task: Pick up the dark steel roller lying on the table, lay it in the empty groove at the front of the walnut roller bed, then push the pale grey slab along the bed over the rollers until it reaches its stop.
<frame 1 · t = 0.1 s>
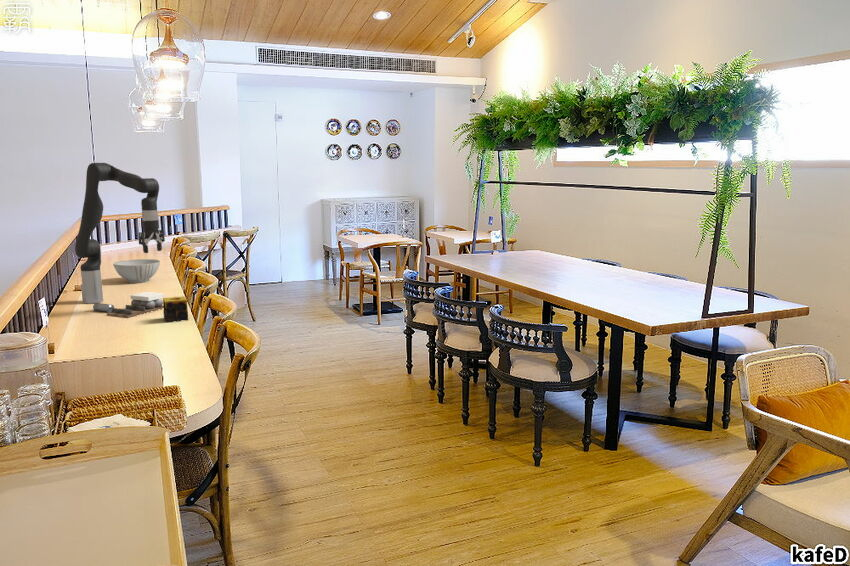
hand: (152, 251, 323), 29 cm above the table, fingers open, 8 cm apart
slab: (147, 296, 328), point 6 cm above the table, slide at 0.0 cm
roller bed: (137, 311, 323), on the table
black and yellow cube: (176, 319, 307), on the table
roller: (103, 311, 324), on the table
decorative bowl: (138, 281, 408), on the table
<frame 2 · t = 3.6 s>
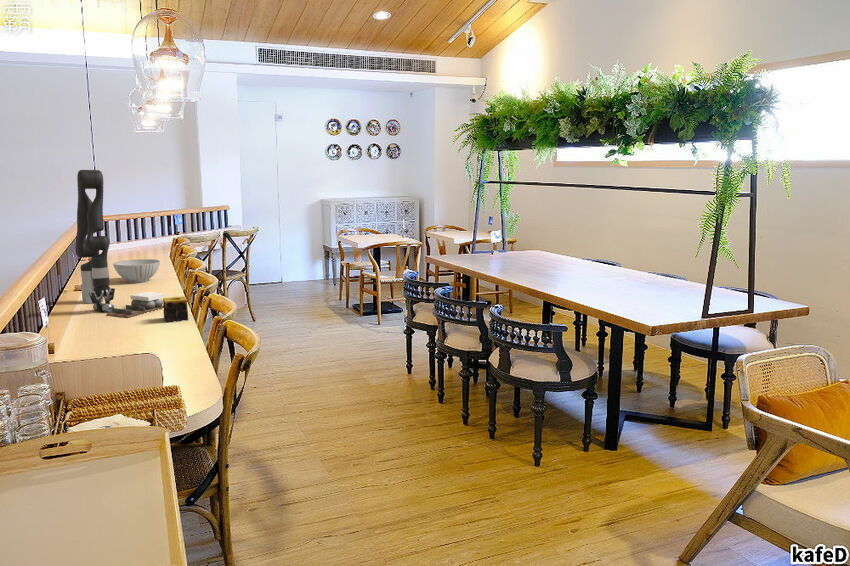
hand: (103, 310, 324), 1 cm above the table, fingers closed on roller, 4 cm apart
roller: (103, 311, 324), on the table, touching gripper
everything else where it was.
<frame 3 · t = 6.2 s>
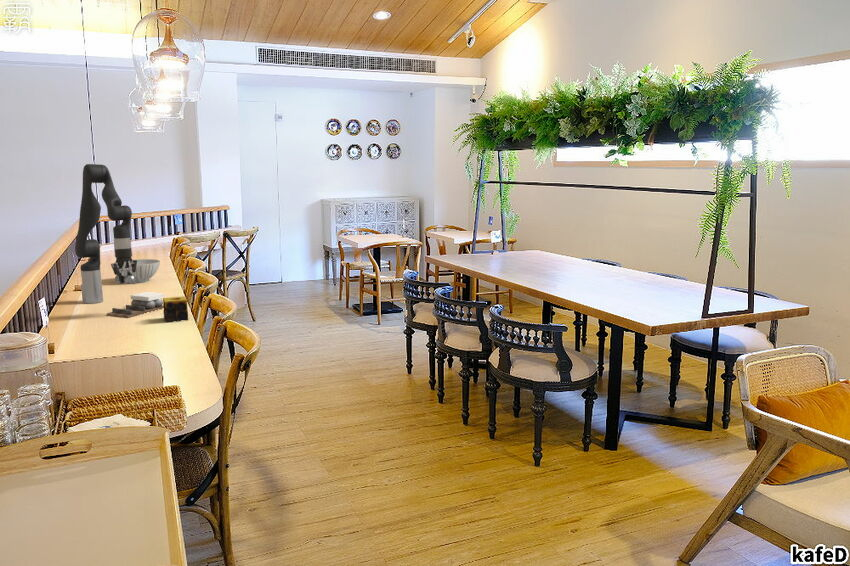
hand: (126, 282, 316), 16 cm above the table, fingers closed on roller, 4 cm apart
roller: (126, 283, 316), point 15 cm above the table, touching gripper
everything else where it was.
when the fingers open (3 cm above the table, at t = 8.9 s): roller drops 2 cm, resting on roller bed.
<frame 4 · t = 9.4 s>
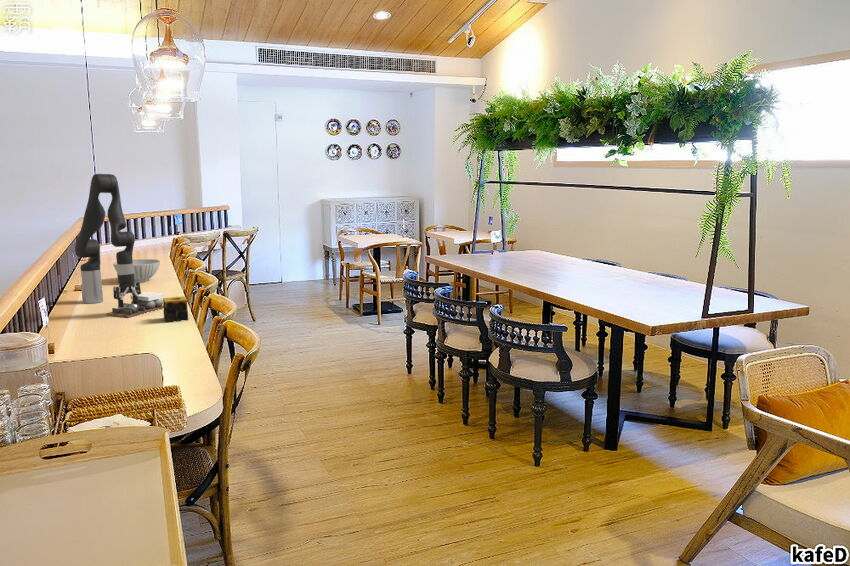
hand: (128, 305, 318), 4 cm above the table, fingers open, 8 cm apart
roller: (128, 311, 319), point 1 cm above the table, touching roller bed
everything else where it was.
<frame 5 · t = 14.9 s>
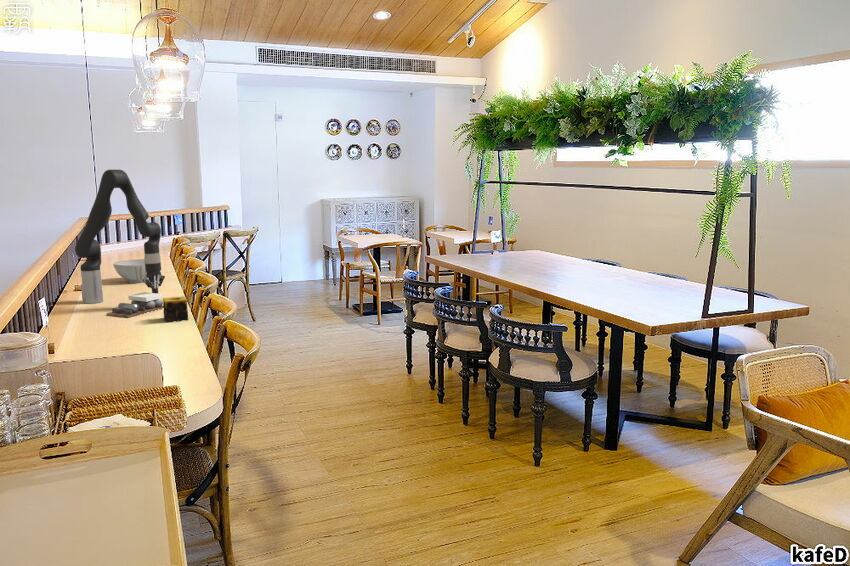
hand: (155, 295, 333), 6 cm above the table, fingers closed
slab: (145, 296, 327), point 6 cm above the table, slide at 1.3 cm, touching gripper
everything else where it was.
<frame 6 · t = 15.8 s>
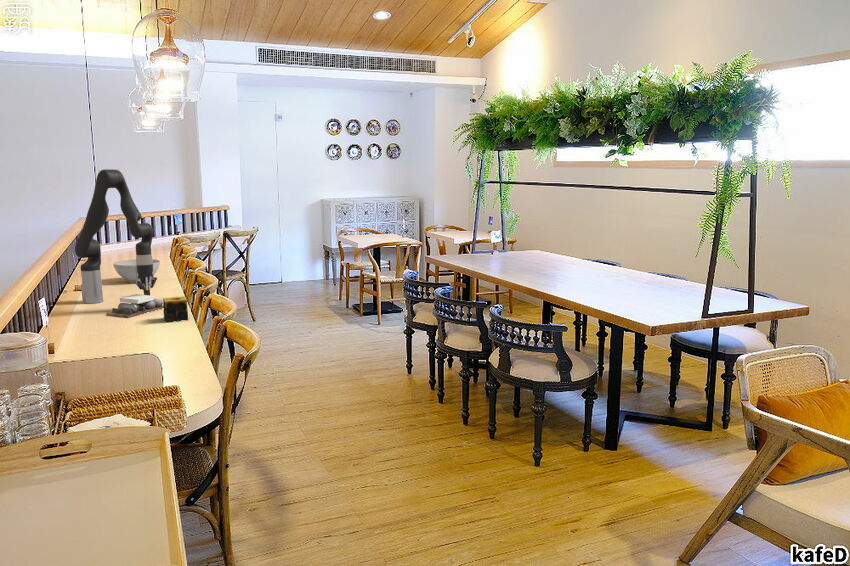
hand: (147, 297, 329), 6 cm above the table, fingers closed
slab: (136, 298, 322), point 6 cm above the table, slide at 6.6 cm, touching gripper
everything else where it was.
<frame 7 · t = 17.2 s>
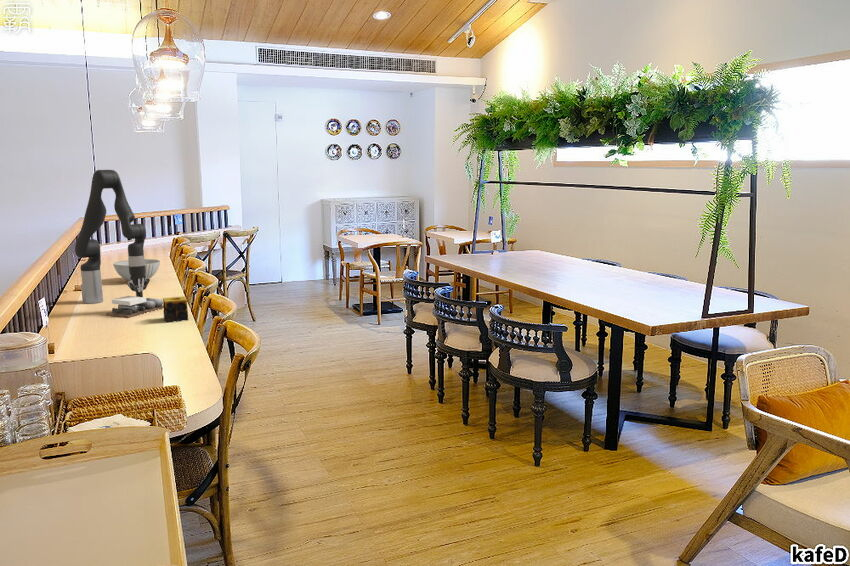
hand: (139, 298, 324), 6 cm above the table, fingers closed
slab: (129, 300, 318), point 6 cm above the table, slide at 11.4 cm, touching gripper
everything else where it was.
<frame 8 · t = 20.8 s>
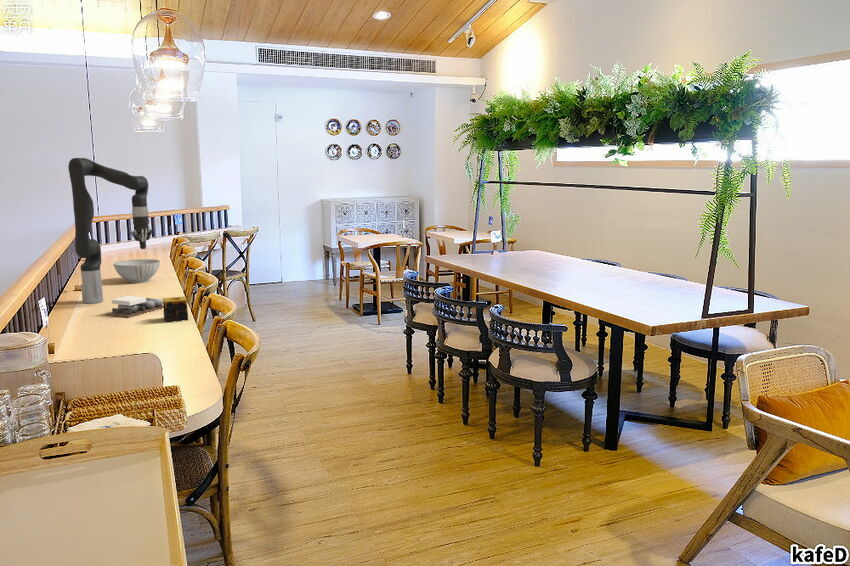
hand: (143, 248, 336), 29 cm above the table, fingers closed
slab: (129, 300, 318), point 6 cm above the table, slide at 11.4 cm
everything else where it was.
at the end: slab slide at 11.4 cm; roller 0.0 cm from the target spot, point 1.0 cm above the table; the gripper is holding nothing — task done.
